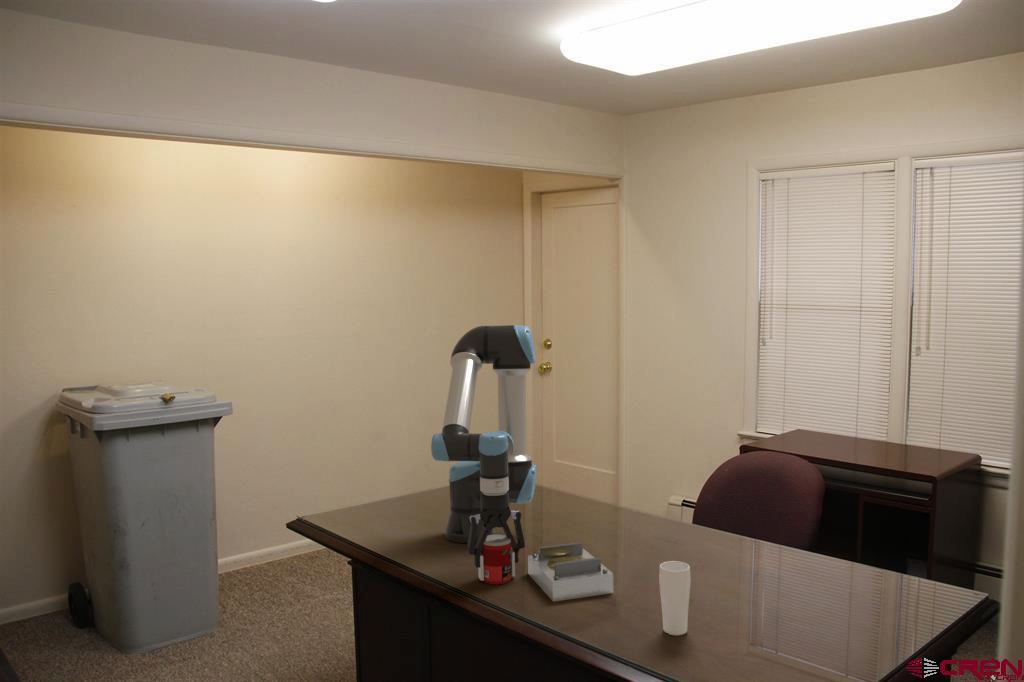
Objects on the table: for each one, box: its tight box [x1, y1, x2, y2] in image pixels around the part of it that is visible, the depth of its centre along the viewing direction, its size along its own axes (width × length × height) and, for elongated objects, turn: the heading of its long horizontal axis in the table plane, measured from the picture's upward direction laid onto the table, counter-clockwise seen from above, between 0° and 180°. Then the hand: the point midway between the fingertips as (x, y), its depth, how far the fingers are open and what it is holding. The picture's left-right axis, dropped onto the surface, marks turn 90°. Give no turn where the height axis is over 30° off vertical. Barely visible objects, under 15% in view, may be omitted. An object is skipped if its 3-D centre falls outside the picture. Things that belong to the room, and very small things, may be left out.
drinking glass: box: [658, 560, 691, 636], centre depth 184 cm, size 7×7×15 cm
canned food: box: [481, 533, 512, 585], centre depth 218 cm, size 8×8×11 cm
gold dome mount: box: [527, 541, 614, 602], centre depth 214 cm, size 20×16×8 cm
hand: (496, 576), depth 218 cm, fingers closed on canned food, 8 cm apart
